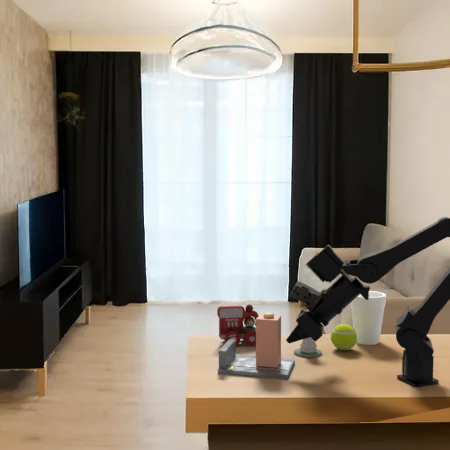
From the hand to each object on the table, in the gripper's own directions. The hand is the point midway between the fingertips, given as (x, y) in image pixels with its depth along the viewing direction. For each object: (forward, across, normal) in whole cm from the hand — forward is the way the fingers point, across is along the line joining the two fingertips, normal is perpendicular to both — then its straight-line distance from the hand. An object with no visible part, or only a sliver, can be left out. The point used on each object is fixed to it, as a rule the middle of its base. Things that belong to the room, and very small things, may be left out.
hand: (287, 341), depth 142 cm
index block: (+7, 0, +1) cm, 7 cm away
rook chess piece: (+2, -14, +7) cm, 16 cm away
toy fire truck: (+16, -19, -6) cm, 26 cm away
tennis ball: (-3, -20, +13) cm, 24 cm away
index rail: (+10, 0, 0) cm, 10 cm away
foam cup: (-7, -29, +17) cm, 34 cm away
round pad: (+3, -14, +7) cm, 16 cm away
